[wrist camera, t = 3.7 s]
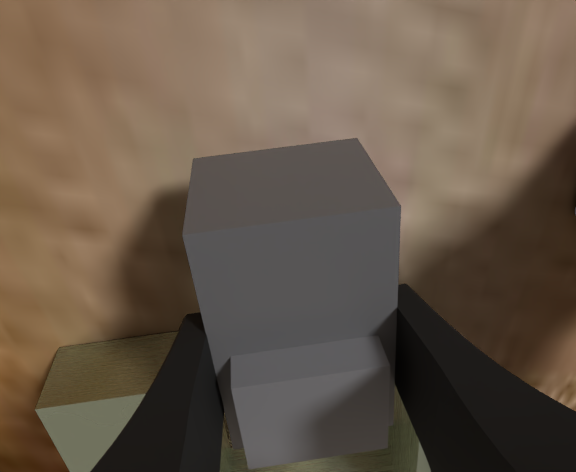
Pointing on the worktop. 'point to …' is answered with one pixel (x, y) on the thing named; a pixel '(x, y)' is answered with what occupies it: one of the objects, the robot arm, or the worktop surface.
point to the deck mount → (131, 390)
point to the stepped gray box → (298, 296)
